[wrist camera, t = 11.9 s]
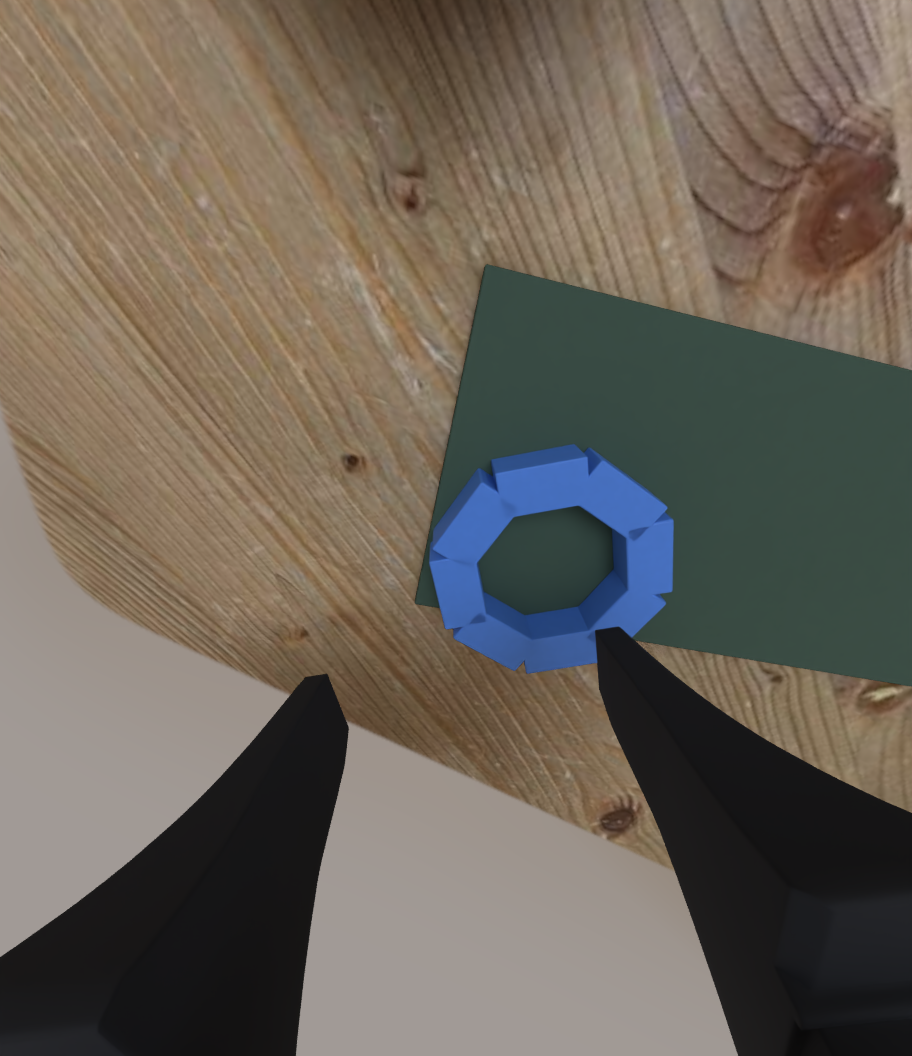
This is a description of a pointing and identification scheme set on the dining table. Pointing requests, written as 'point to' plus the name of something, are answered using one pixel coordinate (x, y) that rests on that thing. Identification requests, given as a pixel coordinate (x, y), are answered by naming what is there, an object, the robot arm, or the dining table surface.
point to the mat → (698, 473)
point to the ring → (541, 488)
